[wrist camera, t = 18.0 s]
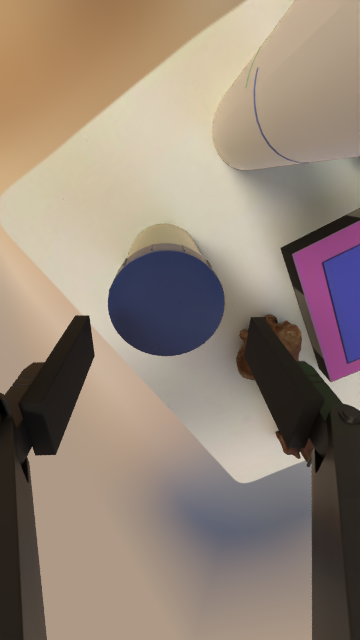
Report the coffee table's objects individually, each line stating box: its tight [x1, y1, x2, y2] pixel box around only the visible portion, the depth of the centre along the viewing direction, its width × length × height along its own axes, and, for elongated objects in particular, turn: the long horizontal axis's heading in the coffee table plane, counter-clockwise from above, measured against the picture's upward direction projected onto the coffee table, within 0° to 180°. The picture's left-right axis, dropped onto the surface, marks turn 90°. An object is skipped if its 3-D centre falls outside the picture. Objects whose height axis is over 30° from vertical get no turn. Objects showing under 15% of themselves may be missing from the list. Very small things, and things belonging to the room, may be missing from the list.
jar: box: [127, 224, 202, 258], centre depth 25 cm, size 8×8×13 cm
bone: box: [236, 315, 314, 464], centre depth 38 cm, size 9×8×30 cm
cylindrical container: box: [213, 0, 360, 170], centre depth 14 cm, size 7×7×25 cm
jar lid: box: [108, 243, 225, 356], centre depth 20 cm, size 8×8×2 cm
